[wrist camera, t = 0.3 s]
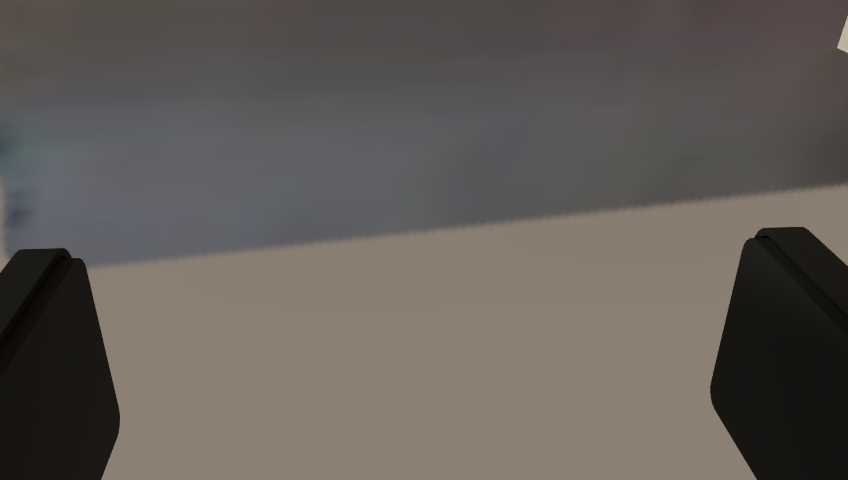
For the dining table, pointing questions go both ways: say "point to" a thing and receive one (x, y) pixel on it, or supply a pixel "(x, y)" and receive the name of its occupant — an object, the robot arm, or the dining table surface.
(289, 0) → the dining table surface
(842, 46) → the tray
